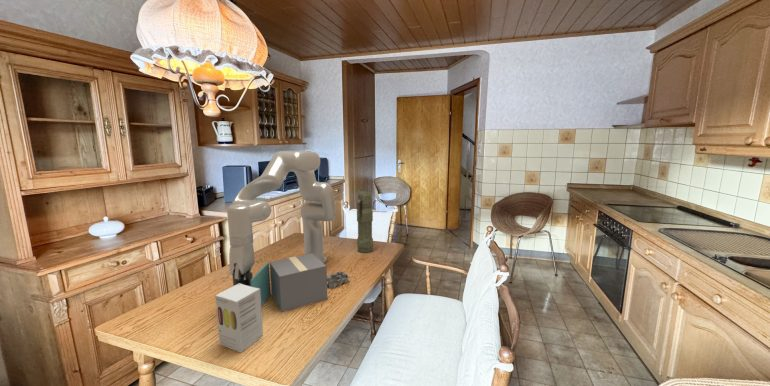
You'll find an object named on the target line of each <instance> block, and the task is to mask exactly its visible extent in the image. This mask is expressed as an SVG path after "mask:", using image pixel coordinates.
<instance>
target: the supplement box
mask: <svg viewBox="0 0 770 386" xmlns="http://www.w3.org/2000/svg"><path fill="white" fill-rule="evenodd" d="M215 305H216V314H217V315H216V316H217V317H216V318H217V327H218V338H219V341H218V342H219V345H221V346H223V347H225V348H227V349H231V350H232V351H235V352H238V353H243V352H244V351H245V350H247V349H248V348H249V347H251V346H252V345H254V344H255V343H256V342H258V340H260V339H261V338H263V337H264V331H263V330H264V329H263V327H264V325H263V314H262V307H261V295H260V289H259V288H255V287H251V286H247V285H243V284H240V283H239V284H237V285H235V286H231V287H229V288H226V289H225V290H223V291H220V292H219V293H217V294H216V295H215Z"/></svg>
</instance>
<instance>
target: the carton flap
mask: <svg viewBox="0 0 770 386" xmlns="http://www.w3.org/2000/svg"><path fill="white" fill-rule="evenodd" d="M246 274H247V279H248V283H249V286H251V287H255V288H259V289H260V295H261V308H262V306H264V304H265V302H266V301H267V299H268V298H269V297H270V295H272V292H271V277H270V261H267V262H265V264H264V265H263V266H262V267H261V268H260V269H258V271H257V272H256V273H255V274H253V272H252V271H251V272H246ZM231 275H232V284H233V286H235V285H237V284H239V280H238V279H235V273H234V274H231ZM240 275H243V274H240ZM253 275H254V276H253ZM233 286H232V287H233Z"/></svg>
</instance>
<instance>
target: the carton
mask: <svg viewBox="0 0 770 386" xmlns="http://www.w3.org/2000/svg"><path fill="white" fill-rule="evenodd" d="M327 273H328V272H327V265H326V264H325V263H323V262H321V261H320V260H319V259H318V258H317V257H316V256H315V255H314V254H313V253H312V254H307V255H305V254H303V255H297V256H295V255H294V256H291V257H288V258H282V259H277V260H273V261H269V274H270V289H271V295H272V297H273V299H274V301H275V302H276V304H277V306H278V308H279V310H280V311H281V313H284V312H286V311H290V310H293V309H297V308H301V307H304V306H308V305H311V304H315V303H319V302H323V301H325V300H328V286H327V276H328V274H327Z"/></svg>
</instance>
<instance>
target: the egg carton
mask: <svg viewBox="0 0 770 386" xmlns="http://www.w3.org/2000/svg"><path fill="white" fill-rule="evenodd" d="M349 278H350V275H348V273H346V272H344V271H342V270H341V269H340V270H338V271H336V272H333V273H331V274H329V275H327V287H328V288H329V289H335V288H337V286H342V284H347V283H349Z"/></svg>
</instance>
